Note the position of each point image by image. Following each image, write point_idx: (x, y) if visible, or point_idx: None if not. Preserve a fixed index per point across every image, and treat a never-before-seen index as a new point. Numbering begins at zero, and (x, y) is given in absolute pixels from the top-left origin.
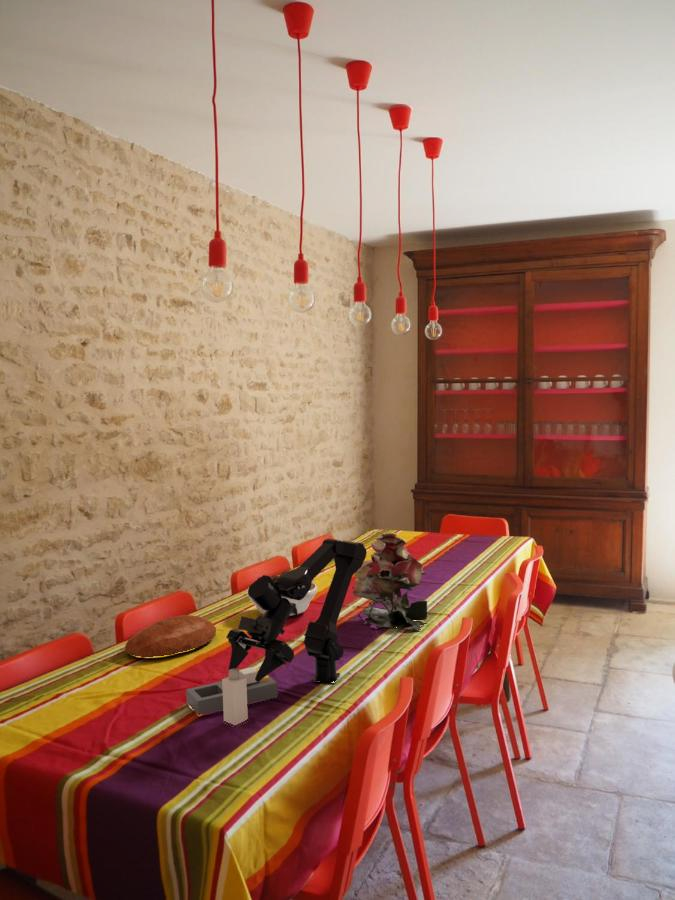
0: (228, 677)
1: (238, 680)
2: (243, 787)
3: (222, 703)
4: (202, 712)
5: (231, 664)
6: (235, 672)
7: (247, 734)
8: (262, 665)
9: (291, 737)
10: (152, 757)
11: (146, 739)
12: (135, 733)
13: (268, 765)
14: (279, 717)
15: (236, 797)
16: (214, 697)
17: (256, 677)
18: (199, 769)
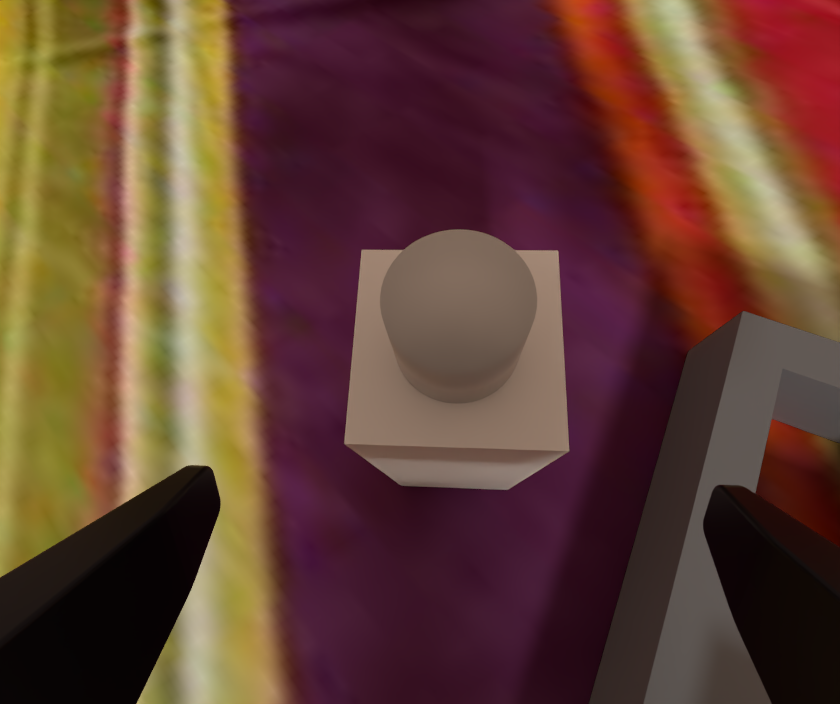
0: (543, 328)
1: (367, 329)
2: (36, 67)
3: (668, 495)
4: (694, 367)
5: (791, 546)
6: (389, 272)
7: (287, 358)
8: (1, 606)
9: (48, 466)
10: (492, 13)
11: (661, 73)
12: (762, 77)
13: (25, 208)
14: (258, 653)
15: (27, 23)
16: (712, 429)
17: (176, 475)
18: (261, 55)
